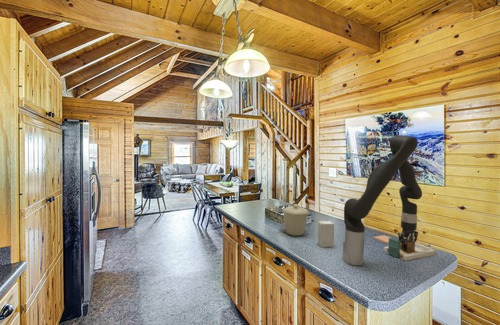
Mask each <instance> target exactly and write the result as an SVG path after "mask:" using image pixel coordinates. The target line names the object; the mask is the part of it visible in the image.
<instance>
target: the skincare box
mask: <svg viewBox="0 0 500 325" xmlns="http://www.w3.org/2000/svg"><path fill="white" fill-rule="evenodd" d="M317 223H318V224H317V225H318V227H317V231H318V232H317V244H318V245H319V246H320V248H334V247H335V246H334V245H335V242H334V241H335V223H334V222H333V221H332V220H318V222H317Z"/></svg>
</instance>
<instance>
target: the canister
mask: <svg viewBox="0 0 500 325" xmlns="http://www.w3.org/2000/svg"><path fill="white" fill-rule="evenodd" d="M282 211H283V220H284V221H283V222H284V229H285V232H286V233H287V235H290V236H293V237H294V236H295V237H300V236H303V235H304V234H305V232H306V227H307V221H308V220H307V219H308V214H309V210H308V209H306V208H304V207H301V206H299V205H298V204H297V203H294V204H293V205H292V206H287V207H285V208H283V209H282Z"/></svg>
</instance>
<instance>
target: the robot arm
mask: <svg viewBox="0 0 500 325" xmlns="http://www.w3.org/2000/svg"><path fill="white" fill-rule="evenodd" d="M389 140H390V141H389V149H390V151H391V154H392V156H391V158H389V159H387V160H384V161H383V162H381V163H379V164H378V165H376V167H374V169H373V170H372V171H371V173H370V174H369V176H368V178H367V181H366V186H365V191H364V192H363V194H362V195H361V196H360V198H359V199H357V198H349V199H348V200H346V202H345V203H344V207H343V222H344V225H345V226H344V227H345V229H344V230H345V234H344V241H343V244H342V259H343V261H344V262H345V263H346V264H347V265H352V266H363V265H364V257H365V256H364V252H365V250H364V249H365V231H366V230H365V229H366V228H365V227H366V226H365V225H364V223H363V221H362V220H363V219H365V218H366V217H367V216H368V215H369V213H370V212H371V211H372V208H373V207H374V205H375V203H376V201H377V200H378V198H379V196H380V195H381V193H382V192H383V191H384V190H385V188H386V187H387V185H388V184H389V183H391V180H392V179H393V177H394V176H395V175H396V173H397V172H399V177H400V182H401V184H402V185H401V187H400V188H399V192H398V193H399V196H400V200H401V204H402V205H401V206H402V208H401V214H400V227H401V229H402V230H401V232H397V235H398V240H399V241H400V242H401V243H402V250H406V247H407V241H409V239H410V240H412V241H415V243H417V239H418V236H419V231H417V228H418V215H417V214H418V205H417V203H415V202H413V201H412V202H411V201H410V199H411V200H420V199H421V198H422V196H423V191H422V188H421V186H420V185H419V184H418V181H417V179H416V178H417V177H416V173H415V172H416V171H415V169H414V168H413V166H412V165H411V163H410V162H409V160H408V159H409V158H410V156H411V155H412V154H413V153H414V152H415V151H416V149H417V147H418V145H419V141H418V139H417V138H416V137H415V136H410V135H403V134H402V135H401V134H395V135H394V136H392V137H391V138H390V139H389ZM405 238H407V239H405ZM401 239H402V241H401ZM404 240H405V241H404Z"/></svg>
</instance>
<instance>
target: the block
mask: <svg viewBox="0 0 500 325" xmlns="http://www.w3.org/2000/svg"><path fill="white" fill-rule="evenodd" d="M404 238H405V237H404ZM405 239H407V238H405ZM401 241H402V239H401ZM404 241H405V240H404ZM415 243H416V242H415V241H412V240H410V239H409V241H407V247H406V250H403V251H406V252H408V253H411V252H415ZM400 249H401V250H402V243H401V242H400Z"/></svg>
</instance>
